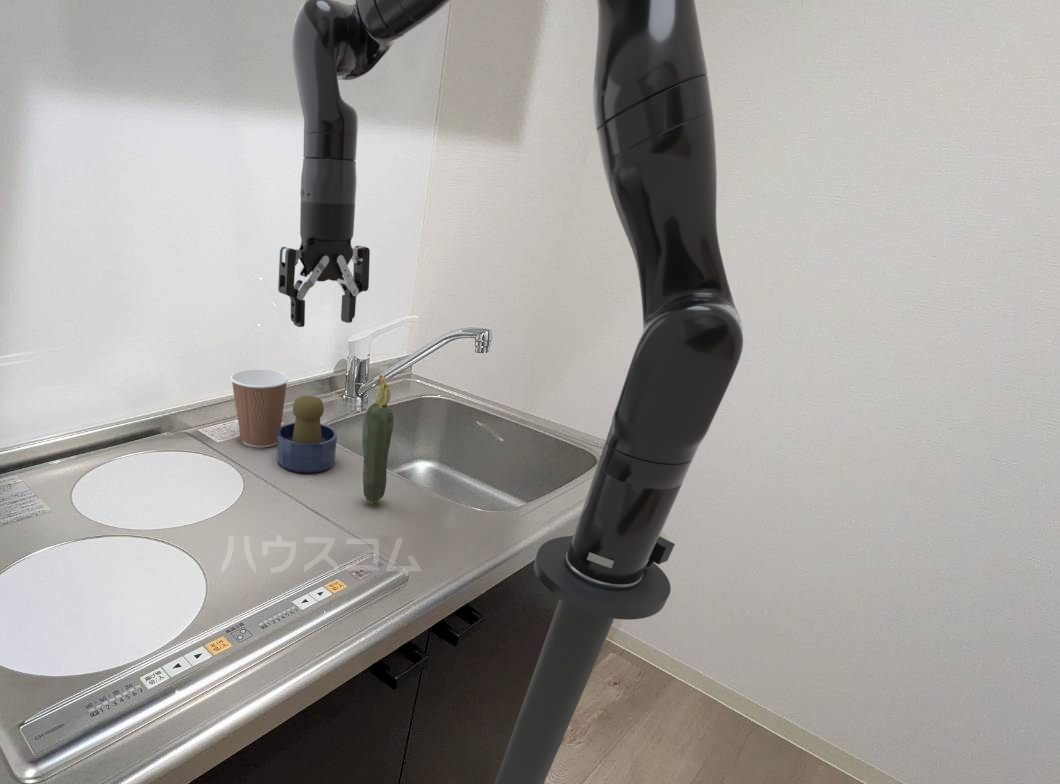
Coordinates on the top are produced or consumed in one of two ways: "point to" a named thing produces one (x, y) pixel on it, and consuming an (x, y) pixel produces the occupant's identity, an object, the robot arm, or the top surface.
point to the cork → (307, 419)
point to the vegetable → (377, 443)
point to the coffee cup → (259, 405)
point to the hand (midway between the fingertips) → (323, 323)
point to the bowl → (306, 450)
